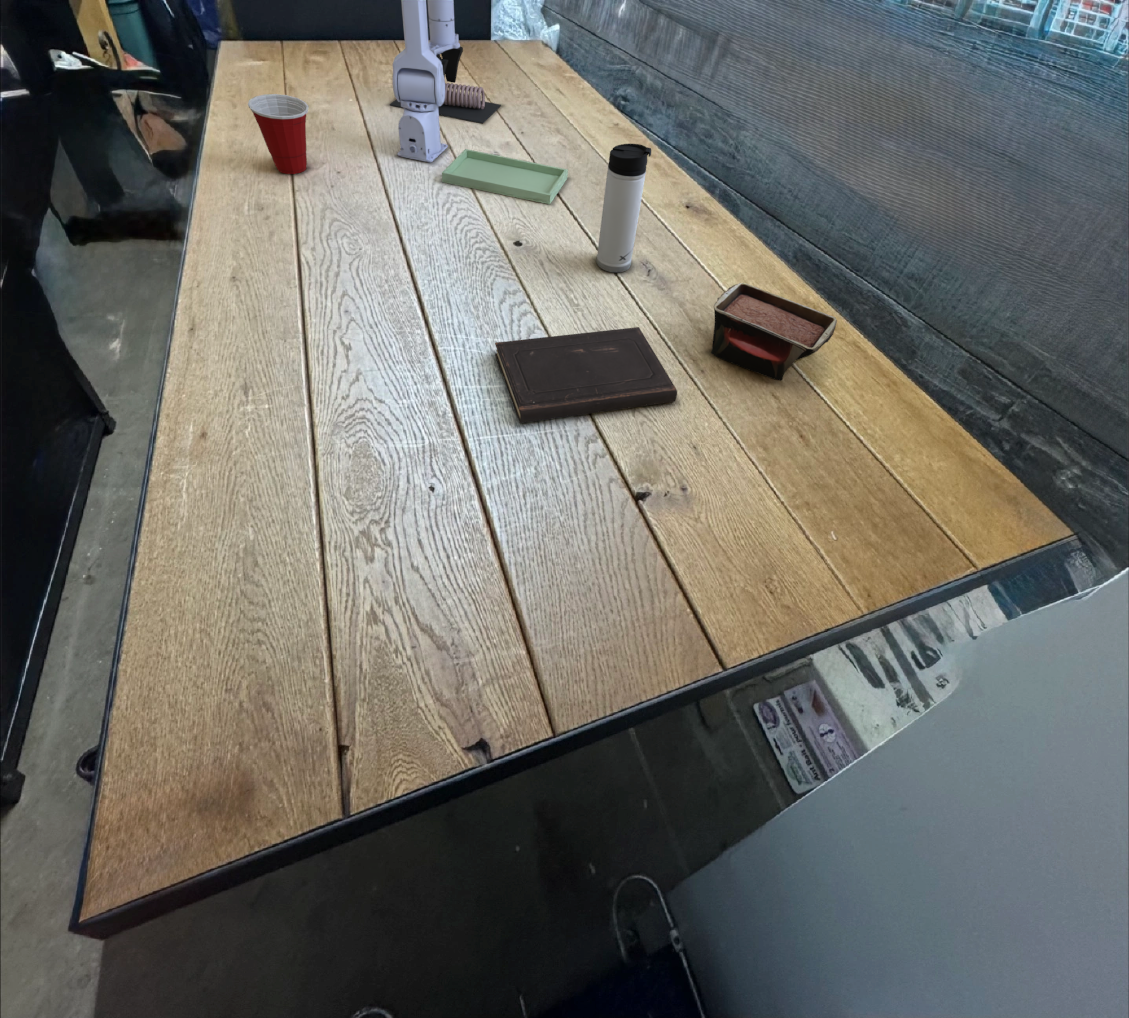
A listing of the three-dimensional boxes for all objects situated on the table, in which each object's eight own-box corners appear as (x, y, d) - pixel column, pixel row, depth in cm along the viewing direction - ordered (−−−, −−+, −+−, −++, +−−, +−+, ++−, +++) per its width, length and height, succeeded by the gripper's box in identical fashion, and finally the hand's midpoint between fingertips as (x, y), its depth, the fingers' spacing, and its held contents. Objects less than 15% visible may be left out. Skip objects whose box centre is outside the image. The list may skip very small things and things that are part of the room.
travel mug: (629, 276, 116) (649, 157, 101) (593, 269, 117) (607, 150, 101) (634, 258, 120) (653, 142, 105) (599, 252, 121) (613, 136, 105)
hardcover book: (495, 355, 98) (495, 342, 97) (636, 339, 104) (639, 326, 102) (520, 425, 89) (520, 413, 87) (674, 404, 94) (678, 391, 92)
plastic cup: (312, 182, 130) (298, 115, 121) (257, 177, 129) (239, 110, 120) (326, 159, 137) (314, 95, 128) (274, 154, 136) (258, 89, 127)
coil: (486, 85, 159) (413, 76, 159) (482, 89, 156) (408, 80, 156) (485, 107, 163) (414, 98, 163) (482, 111, 159) (409, 102, 159)
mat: (482, 123, 156) (482, 122, 156) (389, 105, 159) (389, 104, 158) (500, 105, 164) (500, 104, 164) (412, 88, 167) (411, 87, 167)
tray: (549, 204, 132) (550, 195, 130) (442, 182, 134) (441, 172, 133) (567, 178, 140) (568, 169, 138) (465, 157, 143) (465, 148, 141)
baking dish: (738, 323, 113) (744, 269, 105) (838, 354, 104) (853, 298, 97) (693, 365, 106) (697, 310, 98) (797, 403, 97) (809, 345, 90)
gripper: (445, 28, 143) (449, 98, 153) (469, 13, 152) (471, 80, 162) (415, 23, 143) (421, 93, 154) (441, 8, 153) (444, 75, 163)
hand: (445, 86), depth 158 cm, fingers open, 7 cm apart
